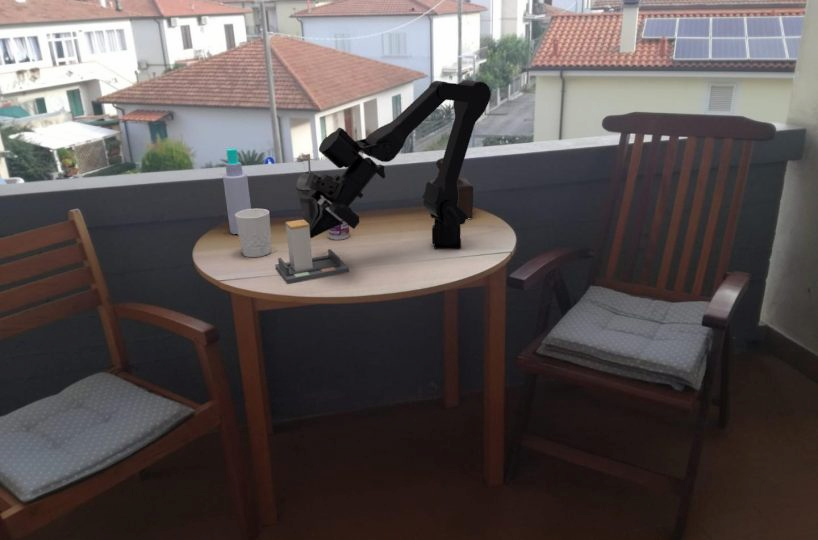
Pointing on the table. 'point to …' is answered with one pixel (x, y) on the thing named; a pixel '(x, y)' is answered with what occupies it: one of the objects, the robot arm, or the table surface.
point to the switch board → (320, 268)
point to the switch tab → (299, 245)
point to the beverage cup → (306, 197)
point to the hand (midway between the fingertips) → (308, 236)
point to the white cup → (254, 232)
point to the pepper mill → (462, 193)
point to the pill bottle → (339, 231)
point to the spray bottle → (235, 189)
